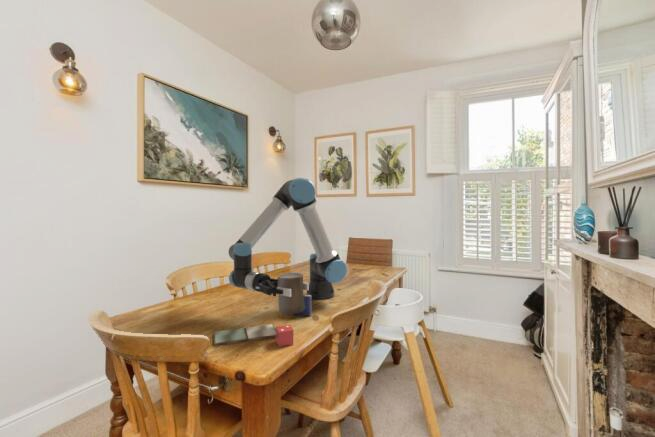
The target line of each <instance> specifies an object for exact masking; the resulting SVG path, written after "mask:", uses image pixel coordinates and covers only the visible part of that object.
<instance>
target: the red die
mask: <svg viewBox="0 0 655 437" xmlns="http://www.w3.org/2000/svg"><path fill="white" fill-rule="evenodd" d="M275 329H276V337H275V342H276V344H277V345H278V347H279V348H281V347H288V346H294V329H293V327H292V326H291V325H290V324H289V325H288V324H287V325H280V326H276V327H275Z"/></svg>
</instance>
